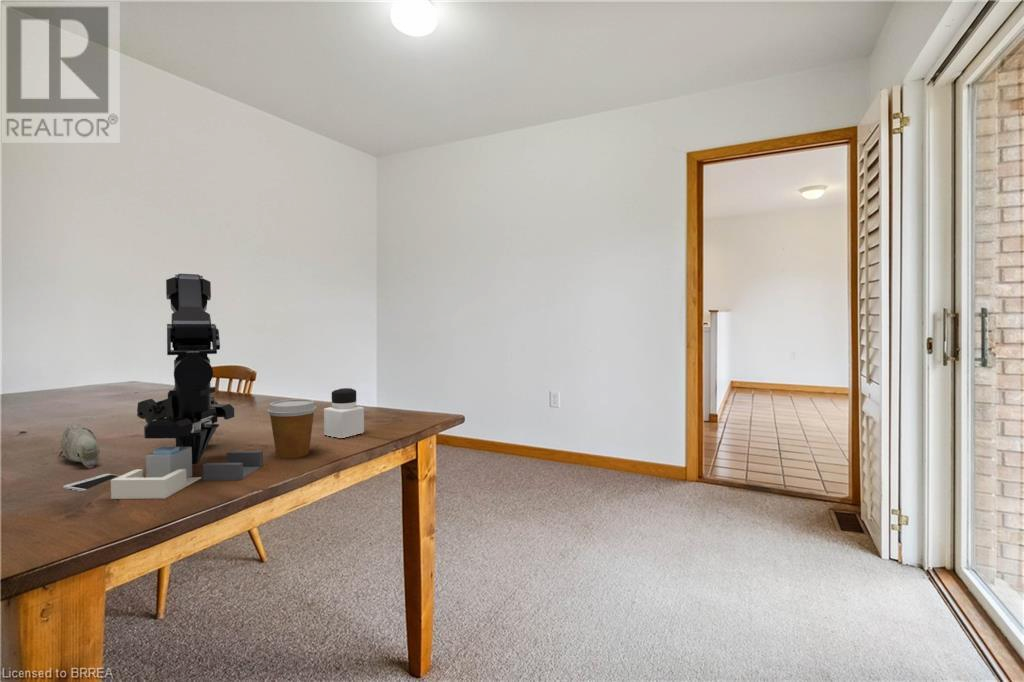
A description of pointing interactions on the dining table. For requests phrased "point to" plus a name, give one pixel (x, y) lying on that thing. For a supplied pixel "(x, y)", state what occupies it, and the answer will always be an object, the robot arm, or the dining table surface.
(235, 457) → the holster
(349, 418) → the medicine bottle
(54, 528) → the dining table surface
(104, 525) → the dining table surface
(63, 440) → the decorative bird
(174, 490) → the port
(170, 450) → the plug
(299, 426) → the disposable coffee cup
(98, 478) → the smartphone
